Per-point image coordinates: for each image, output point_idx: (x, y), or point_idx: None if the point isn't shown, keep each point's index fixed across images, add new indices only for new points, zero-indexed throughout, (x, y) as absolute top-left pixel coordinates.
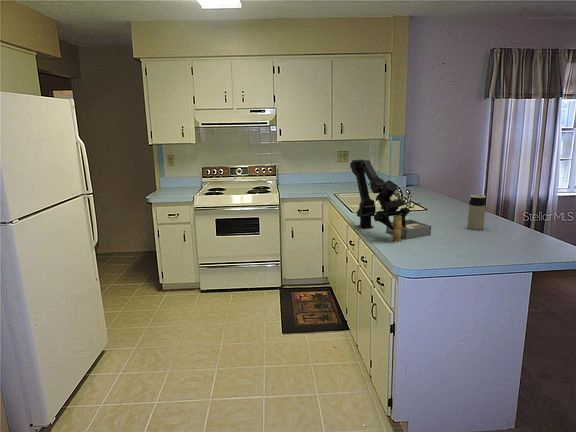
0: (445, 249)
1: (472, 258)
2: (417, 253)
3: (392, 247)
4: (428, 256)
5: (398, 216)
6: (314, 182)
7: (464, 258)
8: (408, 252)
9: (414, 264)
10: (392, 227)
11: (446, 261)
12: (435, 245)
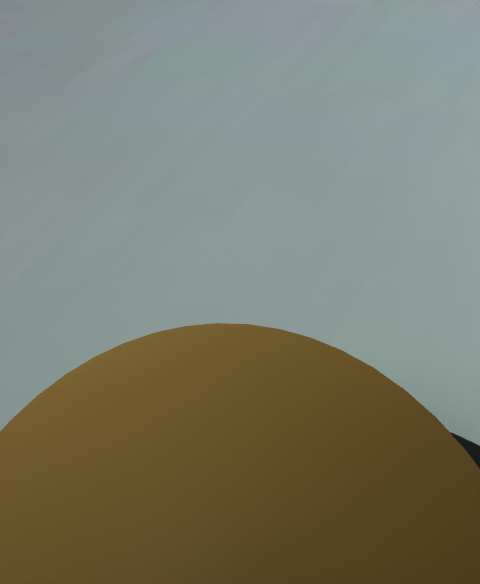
0: (42, 153)
1: (55, 30)
2: (291, 125)
3: (448, 297)
4: (254, 75)
5: (163, 558)
6: None
7: (90, 34)
8: (349, 152)
9: (414, 2)
10: (468, 444)
11: (211, 16)
12: (19, 242)
